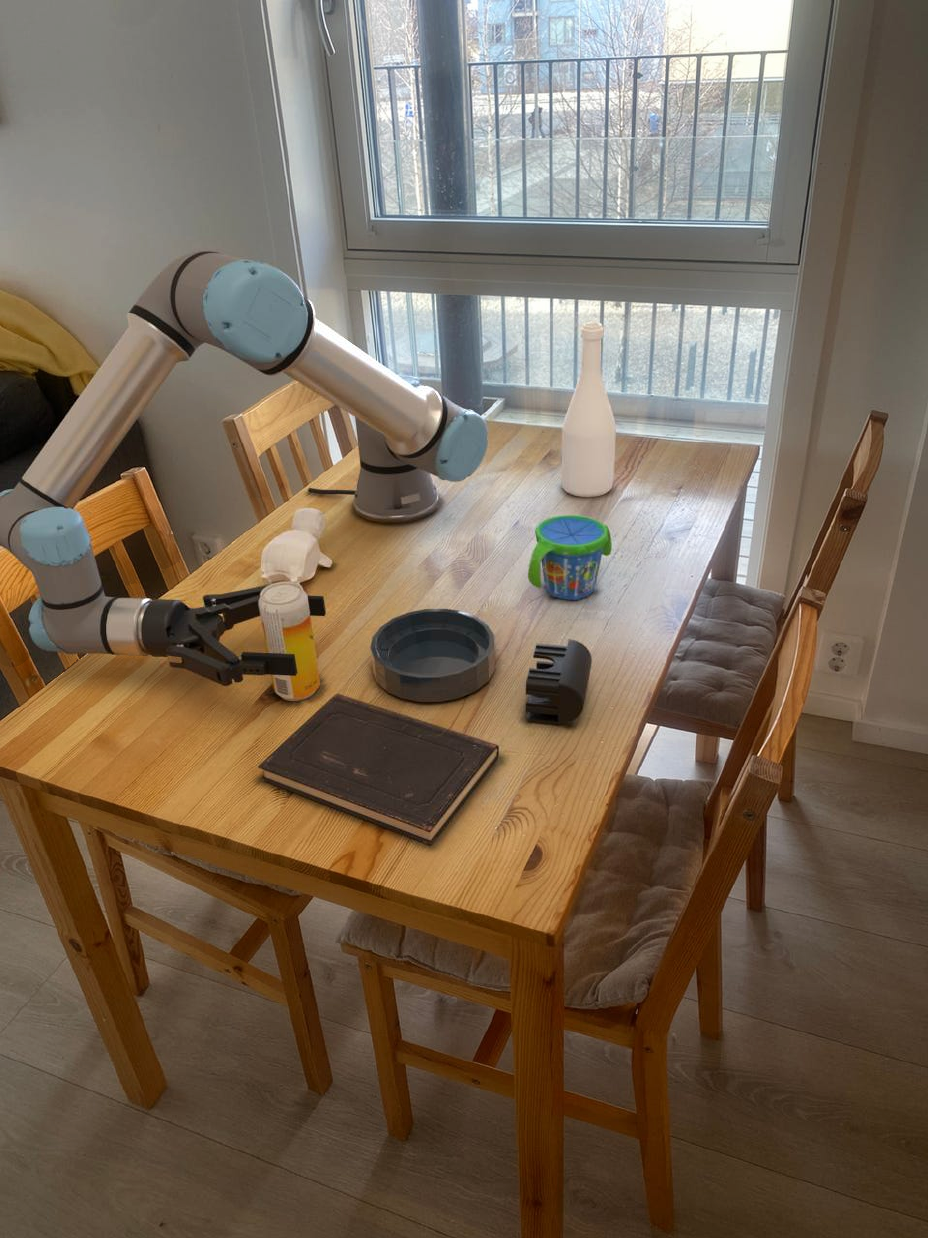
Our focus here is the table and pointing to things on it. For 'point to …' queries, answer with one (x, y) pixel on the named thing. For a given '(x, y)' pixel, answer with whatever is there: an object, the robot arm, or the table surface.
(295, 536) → the white animal figurine
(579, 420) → the wine bottle
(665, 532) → the table surface
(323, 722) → the hardcover book
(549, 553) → the snack cup
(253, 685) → the table surface
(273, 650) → the beer can
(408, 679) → the bowl
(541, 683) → the end cap
